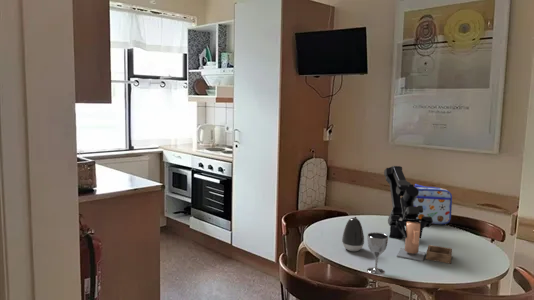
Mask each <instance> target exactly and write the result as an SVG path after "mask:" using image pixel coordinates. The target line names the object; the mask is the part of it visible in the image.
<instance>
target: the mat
mask: <svg viewBox="0 0 534 300" xmlns="http://www.w3.org/2000/svg"><path fill="white" fill-rule="evenodd" d="M426 252H427V251H420V250H419V252H418V253H408V252H406V251H405V247H404V248H403V247H401V248H400V249H399V251H398V253H397V255H396V257H397V258H401V259H407V260H414V261H418V262H423V261H424V260H425V257H426Z"/></svg>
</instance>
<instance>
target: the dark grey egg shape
mask: <svg viewBox="0 0 534 300" xmlns="http://www.w3.org/2000/svg"><path fill="white" fill-rule="evenodd" d="M341 243H342V245H343V247H344V249H346V250H347V251H349V252H358V251H360V250H361V249H362V248H363V247H364V245H365V234H364V229H363V226H362V223H361V221H360V220H359V219H358V218H357V216H355V217H351V218H350V219H348V221H347V222H346V224H345V227H344V229H343V234H342V237H341Z"/></svg>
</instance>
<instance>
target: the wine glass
mask: <svg viewBox="0 0 534 300" xmlns="http://www.w3.org/2000/svg"><path fill="white" fill-rule="evenodd" d="M388 240H389V235H387V234H385V233H382V232H369V233H367V246H368V249H369V251H370V252H371V254H372V255H373V256H374V260H375V261H374V262H375V265H374V267H373V266H372V267H368V268H367V269H366V270H367V271H366V272H368V273H369V274H373V275H383V274H385V273H386V271H385V270H384V268H381V267H378V260H379V258H380V256H381V255H382V254H384V252H385V251H386V249H387V246H388Z"/></svg>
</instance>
